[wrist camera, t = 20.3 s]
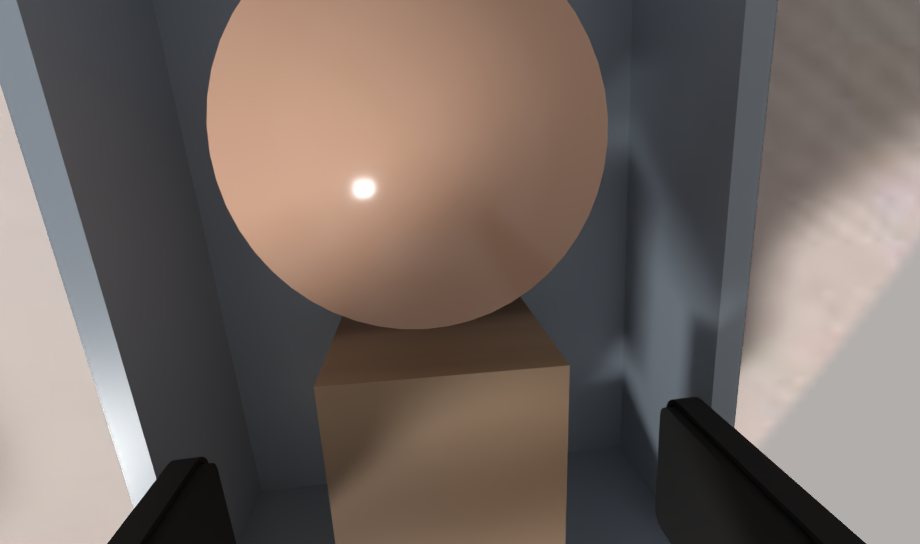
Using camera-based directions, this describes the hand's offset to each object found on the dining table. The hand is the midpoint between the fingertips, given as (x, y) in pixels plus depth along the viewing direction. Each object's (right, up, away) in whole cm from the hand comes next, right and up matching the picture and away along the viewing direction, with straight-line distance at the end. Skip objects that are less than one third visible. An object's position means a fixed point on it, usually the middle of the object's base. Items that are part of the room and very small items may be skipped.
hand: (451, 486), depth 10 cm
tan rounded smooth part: (-1, +8, +3) cm, 9 cm away
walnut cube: (-1, +1, +5) cm, 5 cm away
